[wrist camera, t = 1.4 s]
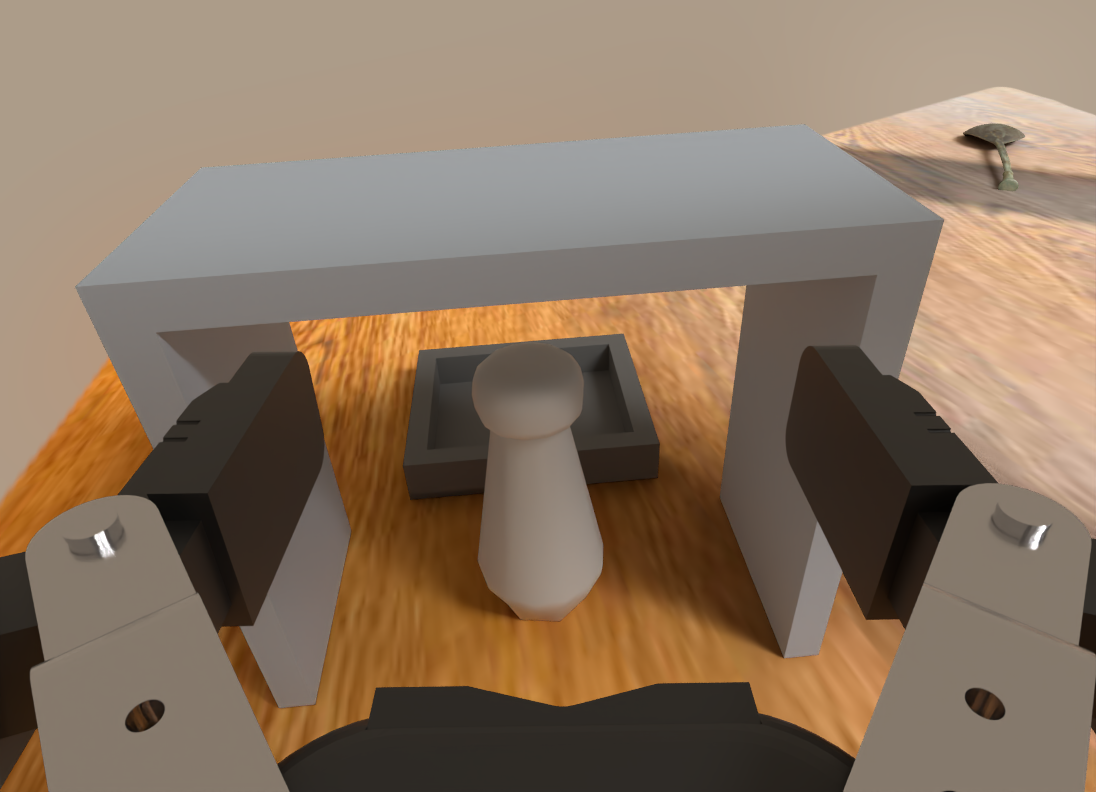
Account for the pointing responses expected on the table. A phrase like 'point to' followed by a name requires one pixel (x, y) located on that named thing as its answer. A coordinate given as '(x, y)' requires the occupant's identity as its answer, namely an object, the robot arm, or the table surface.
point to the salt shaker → (535, 483)
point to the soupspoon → (999, 147)
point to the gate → (524, 277)
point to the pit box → (463, 441)
